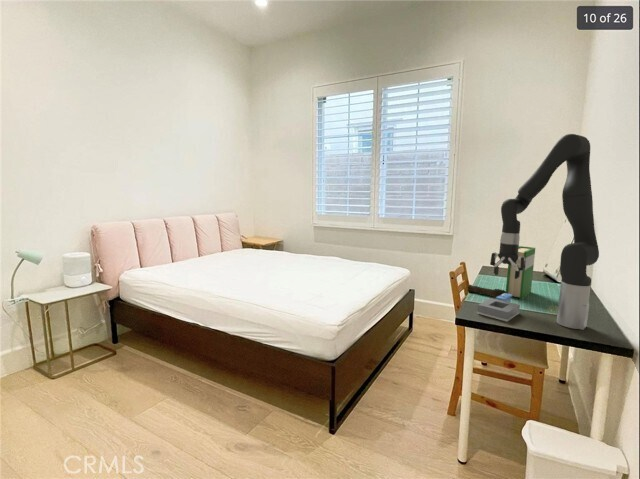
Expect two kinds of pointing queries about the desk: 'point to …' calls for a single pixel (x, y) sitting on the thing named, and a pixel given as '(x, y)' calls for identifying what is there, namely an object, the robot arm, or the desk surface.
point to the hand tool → (486, 291)
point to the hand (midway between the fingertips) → (506, 276)
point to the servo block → (505, 297)
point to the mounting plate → (498, 309)
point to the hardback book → (521, 274)
